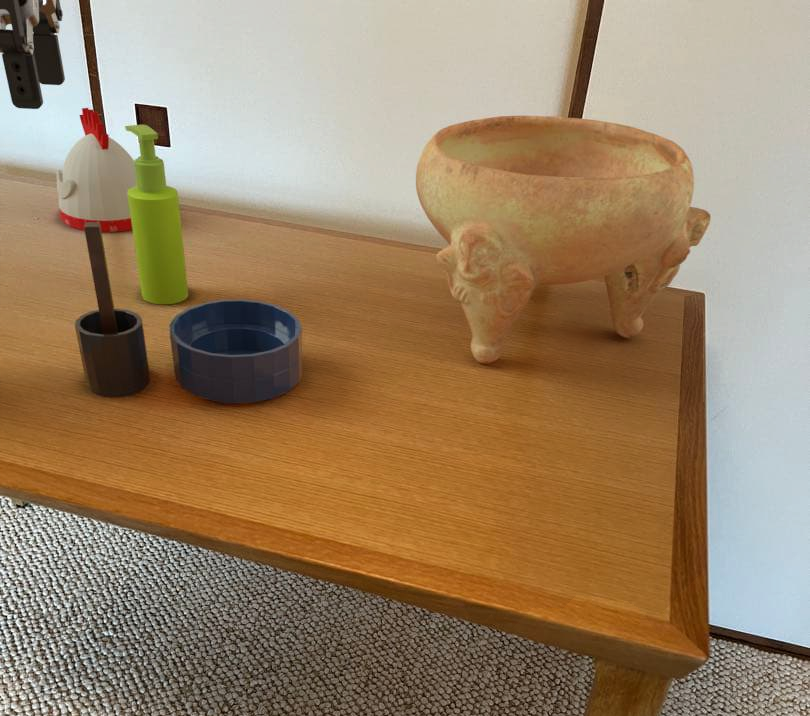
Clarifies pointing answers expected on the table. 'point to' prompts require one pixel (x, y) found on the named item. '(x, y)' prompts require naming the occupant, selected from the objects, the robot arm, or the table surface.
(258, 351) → the mixing bowl
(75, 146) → the kitchen timer
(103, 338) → the crock
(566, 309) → the table surface
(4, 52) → the robot arm
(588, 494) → the table surface
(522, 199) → the decorative bowl
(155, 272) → the soap dispenser
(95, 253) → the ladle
